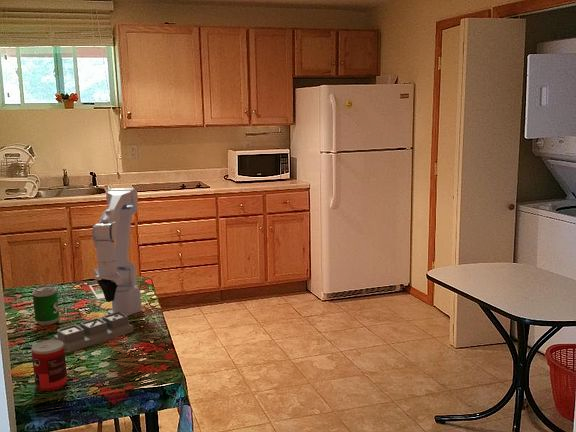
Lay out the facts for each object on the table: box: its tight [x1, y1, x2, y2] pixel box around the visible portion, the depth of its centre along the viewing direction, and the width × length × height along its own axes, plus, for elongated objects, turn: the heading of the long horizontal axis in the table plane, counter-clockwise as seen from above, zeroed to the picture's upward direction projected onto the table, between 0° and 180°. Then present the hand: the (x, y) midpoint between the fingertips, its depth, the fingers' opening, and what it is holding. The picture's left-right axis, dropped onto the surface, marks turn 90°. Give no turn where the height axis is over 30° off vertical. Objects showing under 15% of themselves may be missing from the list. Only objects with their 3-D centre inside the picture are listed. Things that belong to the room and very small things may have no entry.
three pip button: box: [85, 321, 102, 327], centre depth 185 cm, size 4×4×2 cm
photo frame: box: [88, 283, 106, 301], centre depth 230 cm, size 15×1×18 cm
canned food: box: [31, 339, 68, 392], centre depth 154 cm, size 8×8×11 cm
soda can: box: [32, 284, 60, 326], centre depth 197 cm, size 8×8×12 cm
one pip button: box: [61, 327, 79, 334], centre depth 180 cm, size 4×4×2 cm
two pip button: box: [107, 314, 123, 320], centre depth 190 cm, size 4×4×2 cm
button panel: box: [53, 312, 134, 353], centre depth 185 cm, size 21×11×5 cm, turn 135°
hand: (110, 301), depth 190 cm, fingers closed
